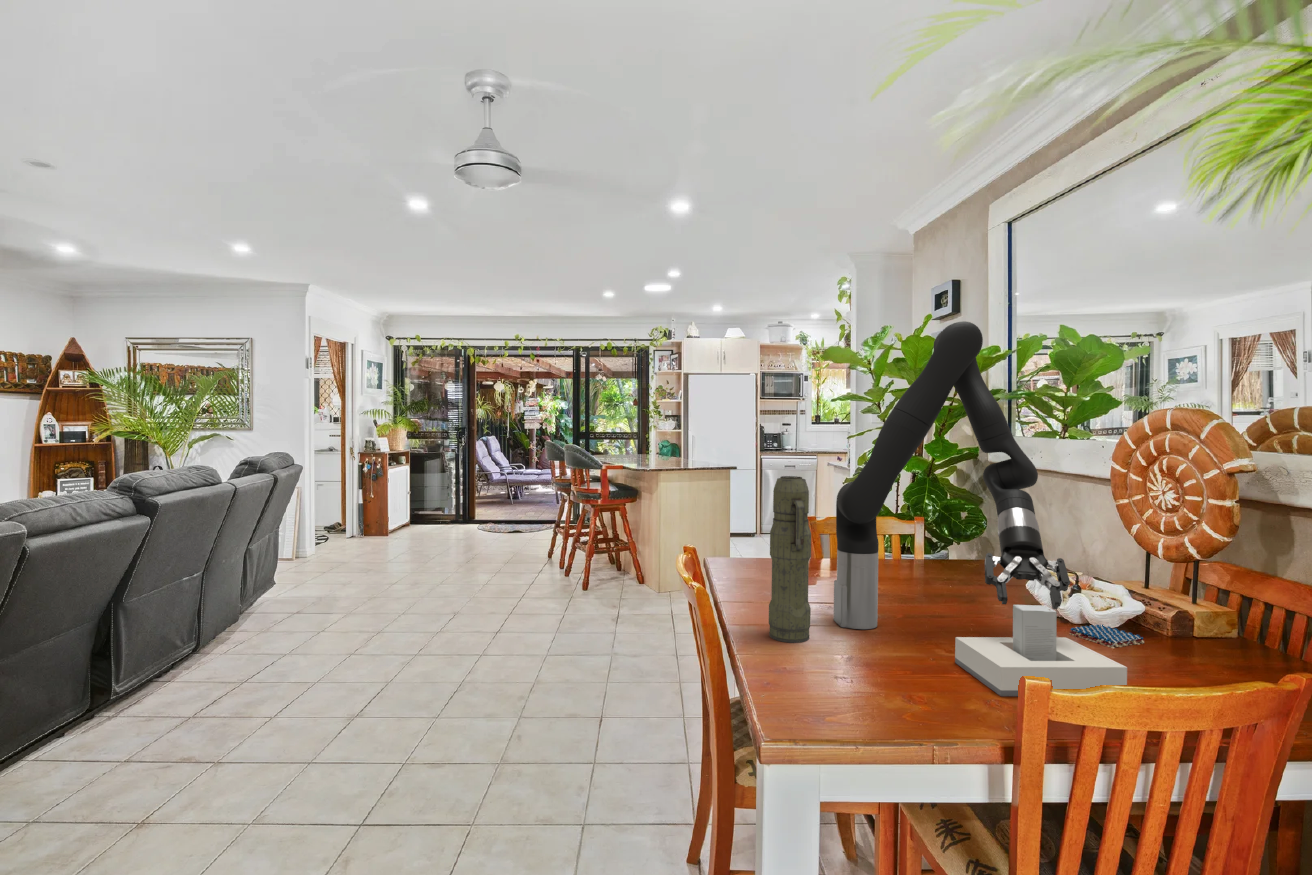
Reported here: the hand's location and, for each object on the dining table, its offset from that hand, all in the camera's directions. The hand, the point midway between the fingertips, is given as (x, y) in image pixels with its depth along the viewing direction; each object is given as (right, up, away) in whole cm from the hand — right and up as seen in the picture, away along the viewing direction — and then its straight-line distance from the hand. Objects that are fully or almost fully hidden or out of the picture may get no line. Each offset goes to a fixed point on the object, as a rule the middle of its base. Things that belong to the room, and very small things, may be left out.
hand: (1030, 604), depth 123 cm
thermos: (-42, -12, +19) cm, 48 cm away
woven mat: (+28, -13, +20) cm, 37 cm away
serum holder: (-1, -13, -4) cm, 13 cm away
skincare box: (-1, -12, -3) cm, 12 cm away
